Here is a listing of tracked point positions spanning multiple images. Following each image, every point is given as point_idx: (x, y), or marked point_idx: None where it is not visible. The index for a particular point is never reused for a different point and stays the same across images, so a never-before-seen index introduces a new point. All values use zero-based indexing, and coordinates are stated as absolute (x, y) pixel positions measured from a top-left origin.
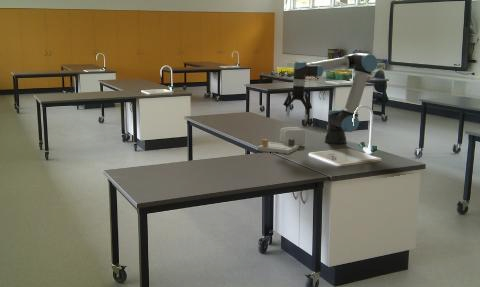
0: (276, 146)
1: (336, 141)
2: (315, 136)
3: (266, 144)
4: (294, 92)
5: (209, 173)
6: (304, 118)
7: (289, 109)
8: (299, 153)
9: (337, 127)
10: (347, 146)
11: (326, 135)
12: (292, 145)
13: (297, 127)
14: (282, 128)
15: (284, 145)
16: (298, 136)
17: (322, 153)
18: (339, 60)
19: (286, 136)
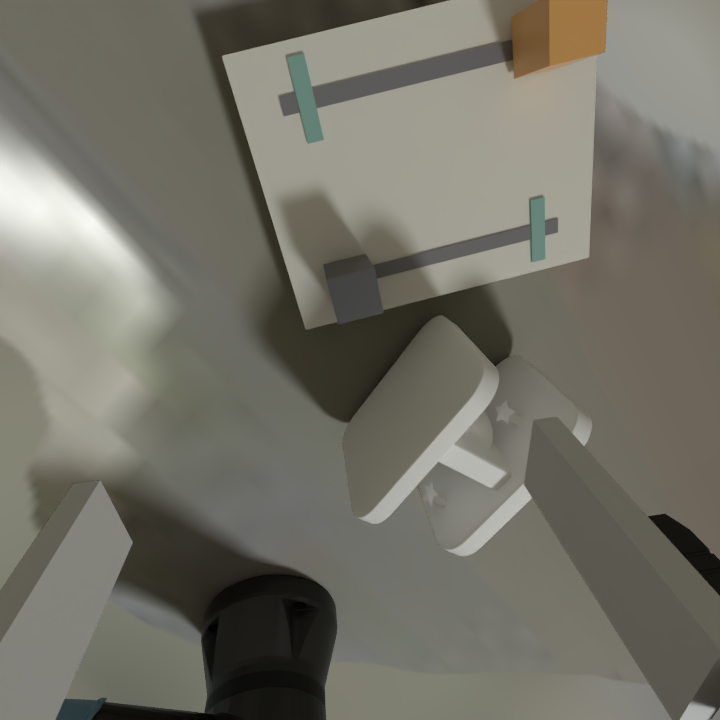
0: (432, 131)
1: (223, 604)
2: (440, 627)
3: (521, 14)
4: None
5: None
6: (86, 495)
7: (619, 621)
8: (180, 183)
9: (184, 716)
10: (136, 593)
11: (310, 627)
12: (323, 264)
13: (469, 544)
14: (573, 430)
15: (397, 233)
16: (381, 435)
17: (58, 335)
18: None
19: (458, 347)
